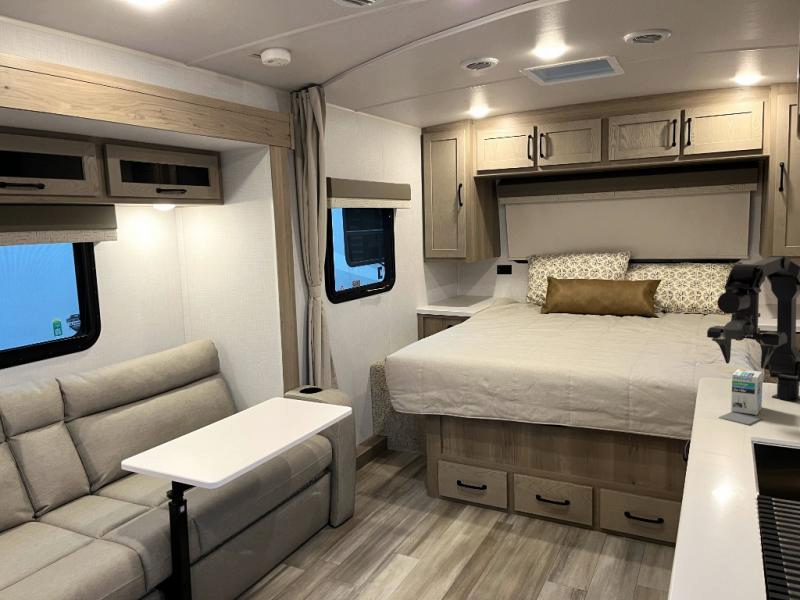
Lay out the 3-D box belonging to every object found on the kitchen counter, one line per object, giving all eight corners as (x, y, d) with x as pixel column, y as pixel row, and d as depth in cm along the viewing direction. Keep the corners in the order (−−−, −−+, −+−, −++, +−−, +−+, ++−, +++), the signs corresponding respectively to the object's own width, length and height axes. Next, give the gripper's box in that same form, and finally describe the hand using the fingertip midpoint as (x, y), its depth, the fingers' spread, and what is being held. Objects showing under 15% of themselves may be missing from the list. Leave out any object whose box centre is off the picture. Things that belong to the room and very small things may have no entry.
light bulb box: (757, 415, 168) (758, 377, 168) (730, 411, 172) (731, 374, 172) (762, 407, 177) (763, 371, 176) (736, 404, 181) (737, 368, 180)
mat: (732, 412, 173) (732, 411, 173) (762, 419, 167) (762, 417, 167) (718, 418, 168) (718, 417, 168) (748, 425, 162) (748, 423, 162)
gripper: (697, 310, 168) (696, 365, 170) (769, 316, 153) (767, 376, 155) (717, 306, 174) (716, 359, 176) (789, 311, 159) (786, 369, 161)
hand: (744, 365), depth 167 cm, fingers open, 9 cm apart
